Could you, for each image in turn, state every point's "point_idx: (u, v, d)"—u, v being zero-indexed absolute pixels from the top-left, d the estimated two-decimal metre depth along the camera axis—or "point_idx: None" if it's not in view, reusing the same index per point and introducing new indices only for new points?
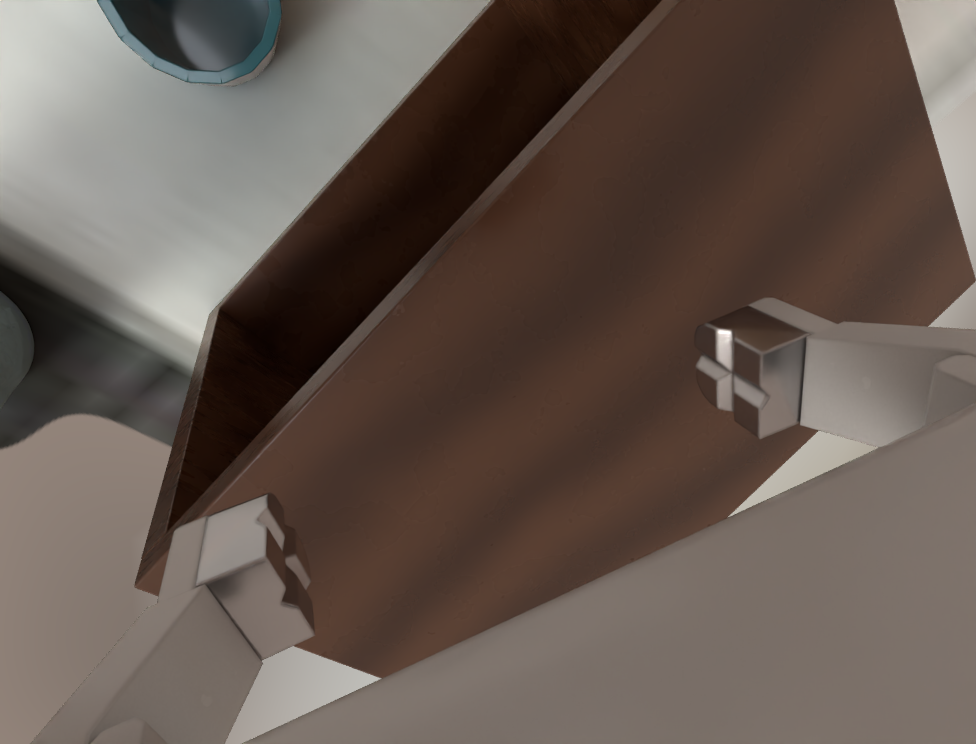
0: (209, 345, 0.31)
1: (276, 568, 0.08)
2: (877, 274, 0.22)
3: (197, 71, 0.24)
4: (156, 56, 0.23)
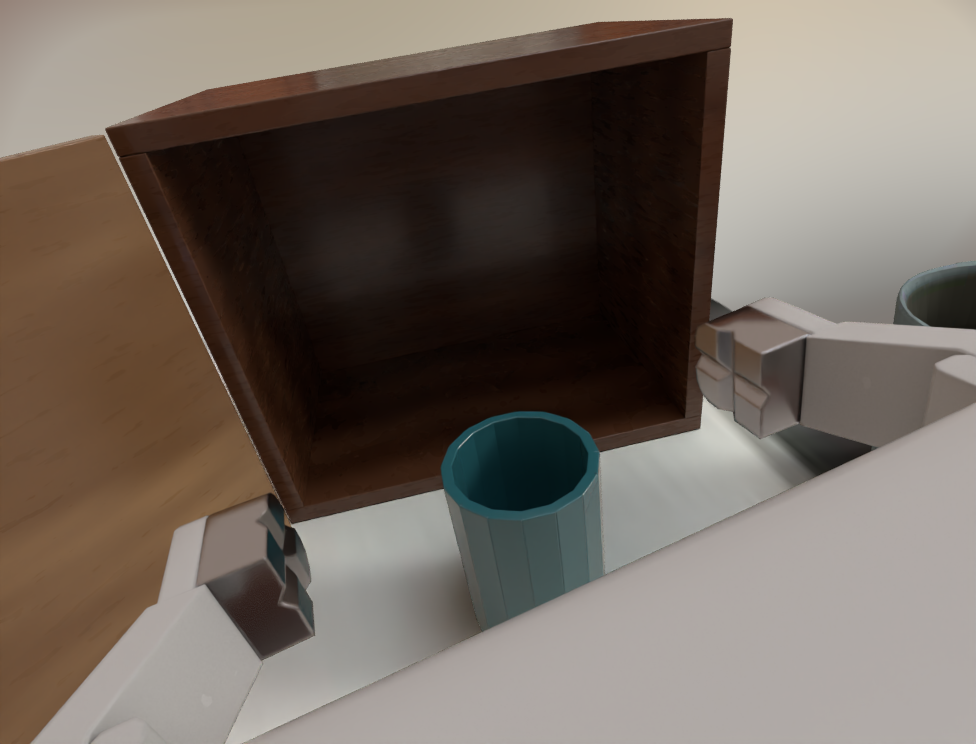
0: (691, 339, 0.35)
1: (276, 568, 0.08)
2: (250, 85, 0.35)
3: (556, 421, 0.26)
4: (580, 436, 0.25)
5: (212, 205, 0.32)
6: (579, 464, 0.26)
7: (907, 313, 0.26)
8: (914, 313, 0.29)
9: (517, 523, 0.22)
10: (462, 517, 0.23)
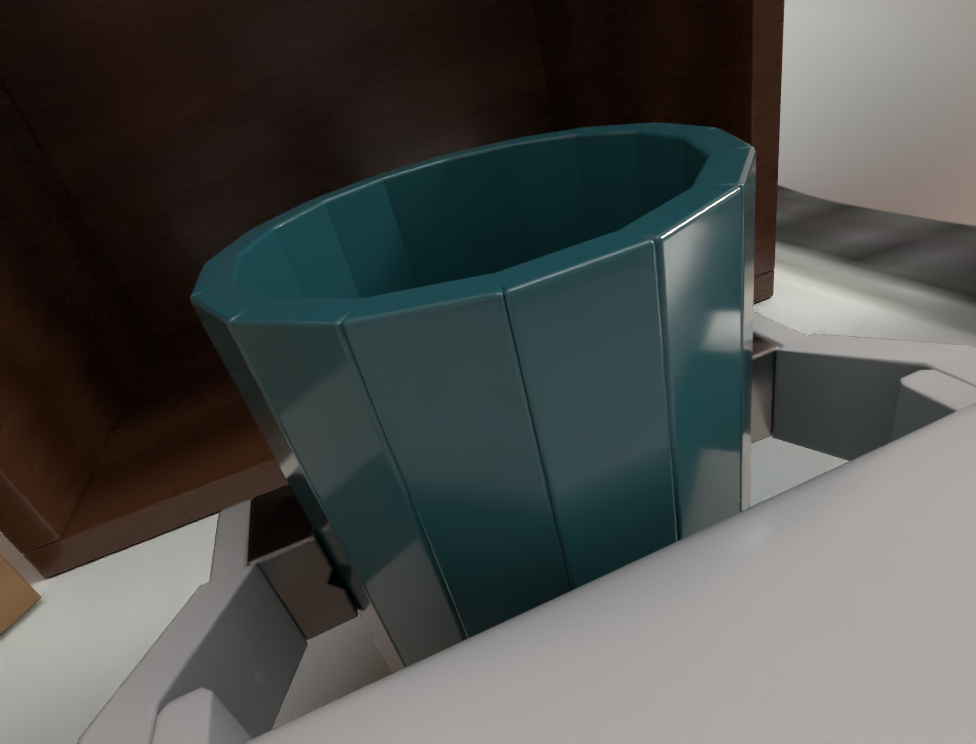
0: (753, 110, 0.19)
1: (323, 549, 0.08)
2: None
3: (555, 135, 0.09)
4: (637, 132, 0.08)
5: None
6: None
7: None
8: None
9: (484, 318, 0.04)
10: (257, 379, 0.05)
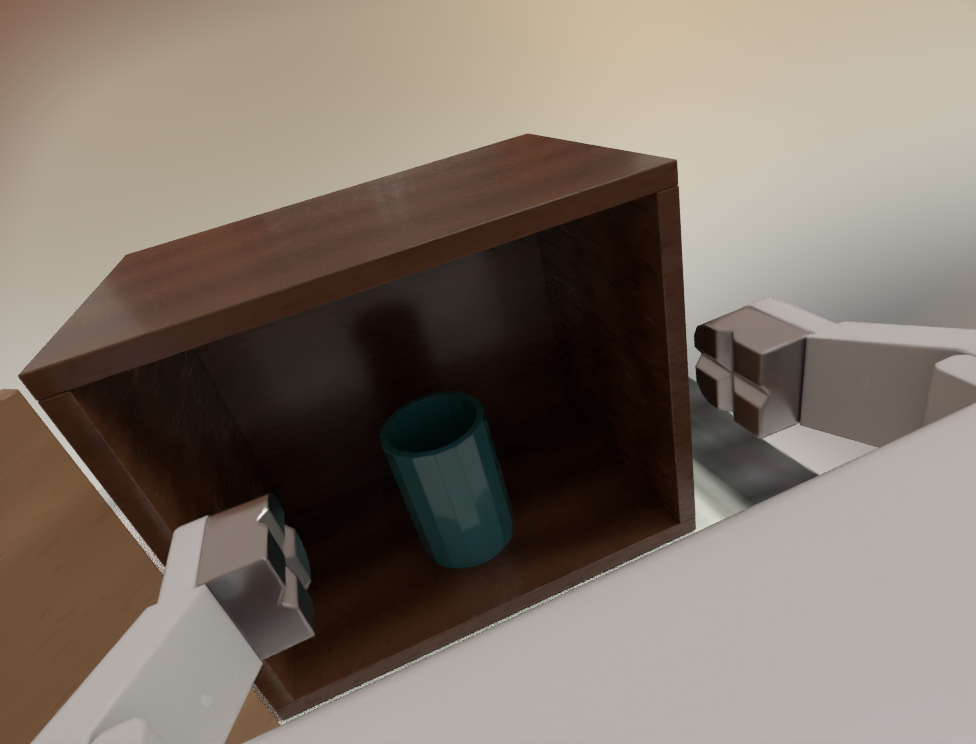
0: (676, 451, 0.34)
1: (276, 568, 0.08)
2: (175, 254, 0.33)
3: (456, 395, 0.38)
4: (471, 401, 0.37)
5: (150, 401, 0.29)
6: None
7: None
8: None
9: (432, 457, 0.33)
10: (397, 463, 0.34)
